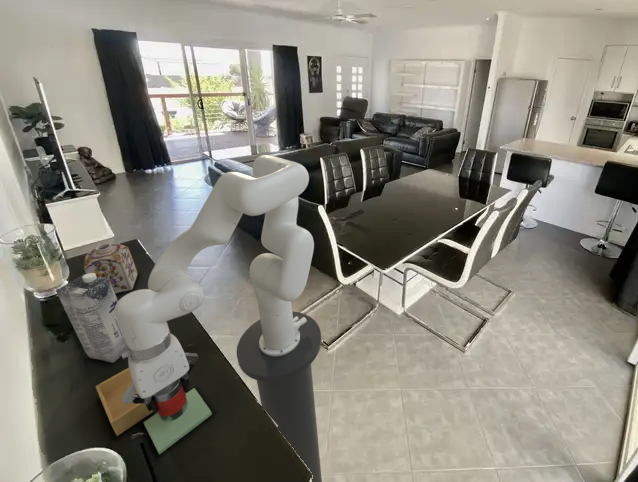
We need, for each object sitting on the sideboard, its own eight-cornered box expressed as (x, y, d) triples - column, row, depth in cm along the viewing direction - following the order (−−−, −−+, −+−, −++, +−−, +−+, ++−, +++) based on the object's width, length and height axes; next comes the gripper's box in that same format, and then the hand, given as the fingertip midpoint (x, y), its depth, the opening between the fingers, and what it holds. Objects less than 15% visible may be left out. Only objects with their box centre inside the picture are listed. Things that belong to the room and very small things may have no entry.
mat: (195, 390, 87) (194, 387, 87) (212, 414, 81) (211, 411, 81) (144, 424, 79) (143, 422, 78) (159, 454, 73) (158, 452, 72)
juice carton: (113, 367, 93) (80, 292, 82) (84, 360, 95) (47, 287, 84) (139, 342, 101) (112, 272, 90) (112, 337, 103) (82, 267, 92)
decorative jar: (104, 280, 129) (88, 242, 122) (138, 273, 134) (125, 236, 126) (94, 299, 119) (77, 258, 112) (132, 290, 124) (118, 251, 117)
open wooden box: (161, 363, 95) (157, 351, 93) (180, 393, 86) (176, 381, 84) (101, 398, 85) (95, 386, 83) (117, 436, 76) (110, 423, 74)
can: (182, 392, 82) (174, 367, 79) (192, 408, 79) (184, 382, 75) (155, 410, 78) (145, 385, 74) (164, 427, 74) (155, 401, 71)
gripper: (106, 380, 61) (132, 439, 68) (199, 329, 73) (213, 383, 81) (96, 358, 66) (122, 416, 73) (186, 313, 78) (200, 366, 85)
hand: (170, 398), depth 77 cm, fingers closed on can, 6 cm apart
